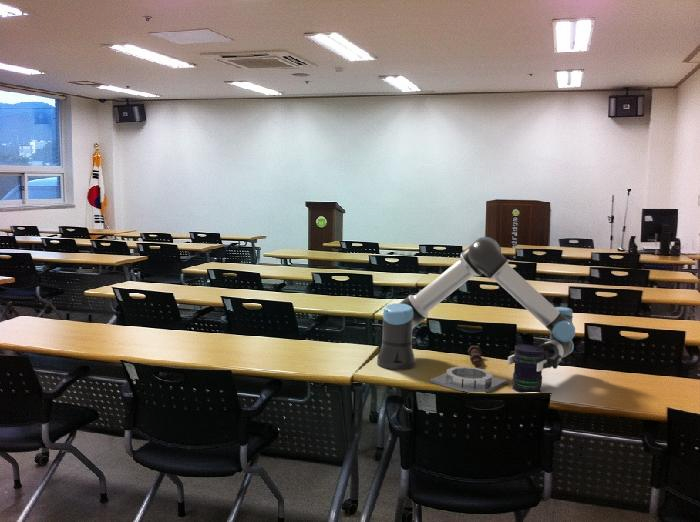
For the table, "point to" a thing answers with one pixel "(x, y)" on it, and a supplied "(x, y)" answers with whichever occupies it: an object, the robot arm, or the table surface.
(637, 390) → the table surface
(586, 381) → the table surface
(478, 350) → the brown tall piece
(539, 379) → the storage jar
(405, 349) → the robot arm
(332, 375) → the table surface
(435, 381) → the hub plate
